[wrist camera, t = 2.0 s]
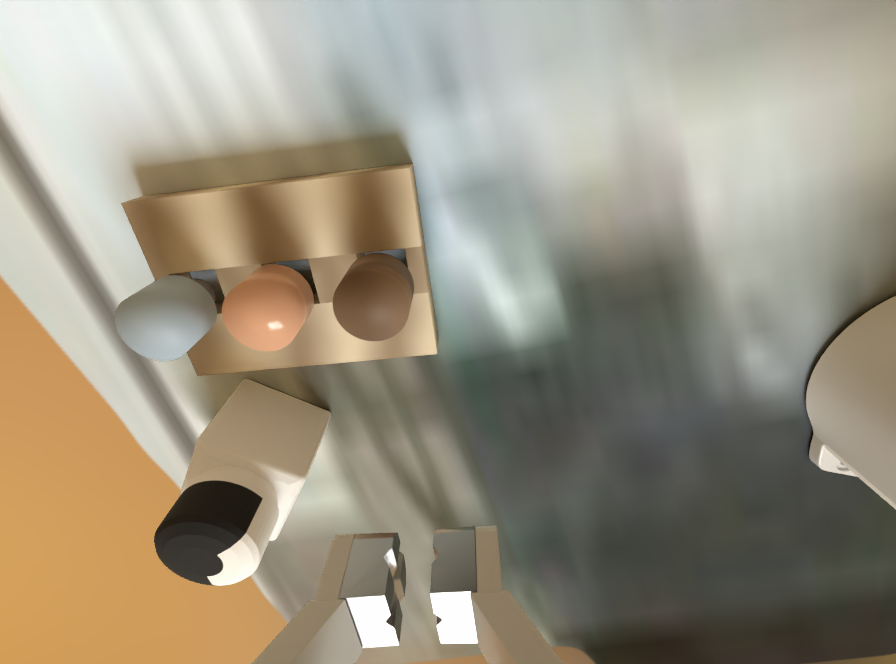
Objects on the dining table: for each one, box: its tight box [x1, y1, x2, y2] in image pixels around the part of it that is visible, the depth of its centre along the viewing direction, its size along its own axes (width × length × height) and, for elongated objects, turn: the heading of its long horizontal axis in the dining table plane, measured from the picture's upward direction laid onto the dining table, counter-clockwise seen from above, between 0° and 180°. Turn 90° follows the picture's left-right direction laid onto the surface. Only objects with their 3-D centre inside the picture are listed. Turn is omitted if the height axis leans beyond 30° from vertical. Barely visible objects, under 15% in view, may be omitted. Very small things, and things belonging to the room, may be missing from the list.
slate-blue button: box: [115, 275, 217, 361], centre depth 27 cm, size 4×4×5 cm
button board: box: [121, 163, 438, 376], centre depth 29 cm, size 17×12×2 cm
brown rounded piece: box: [333, 253, 414, 341], centre depth 26 cm, size 4×4×5 cm
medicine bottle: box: [154, 379, 331, 586], centre depth 31 cm, size 7×7×12 cm
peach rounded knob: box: [222, 264, 314, 352], centre depth 26 cm, size 4×4×5 cm
